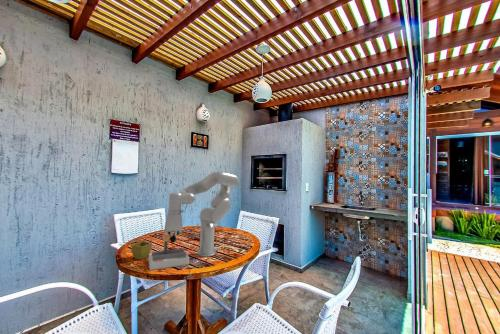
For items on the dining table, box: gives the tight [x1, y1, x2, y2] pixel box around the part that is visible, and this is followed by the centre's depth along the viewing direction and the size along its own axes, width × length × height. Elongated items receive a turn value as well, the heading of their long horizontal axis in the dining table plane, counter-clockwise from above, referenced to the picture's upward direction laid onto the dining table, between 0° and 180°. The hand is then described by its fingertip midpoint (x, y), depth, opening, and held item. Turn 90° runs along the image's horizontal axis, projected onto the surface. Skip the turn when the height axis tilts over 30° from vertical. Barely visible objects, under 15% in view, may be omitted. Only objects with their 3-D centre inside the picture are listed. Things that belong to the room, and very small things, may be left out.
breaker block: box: [147, 248, 190, 271], centre depth 135 cm, size 22×14×6 cm, turn 118°
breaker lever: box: [161, 234, 170, 255], centre depth 135 cm, size 4×6×12 cm, turn 28°
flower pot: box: [130, 241, 153, 261], centre depth 142 cm, size 9×9×9 cm
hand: (172, 242), depth 137 cm, fingers closed
